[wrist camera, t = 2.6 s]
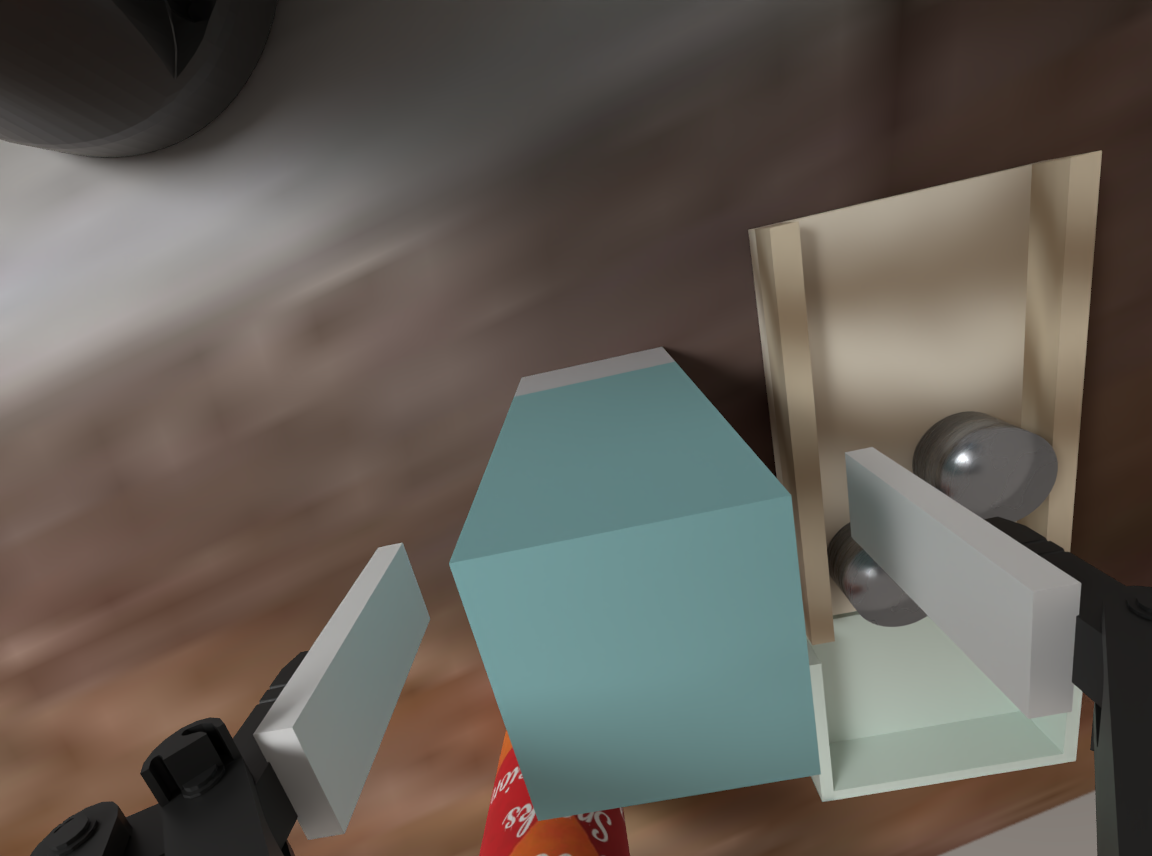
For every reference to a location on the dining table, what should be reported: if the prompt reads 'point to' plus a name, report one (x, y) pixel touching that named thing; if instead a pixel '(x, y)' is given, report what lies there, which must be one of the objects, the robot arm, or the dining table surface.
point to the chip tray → (918, 713)
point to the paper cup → (544, 822)
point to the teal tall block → (636, 593)
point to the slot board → (924, 337)
